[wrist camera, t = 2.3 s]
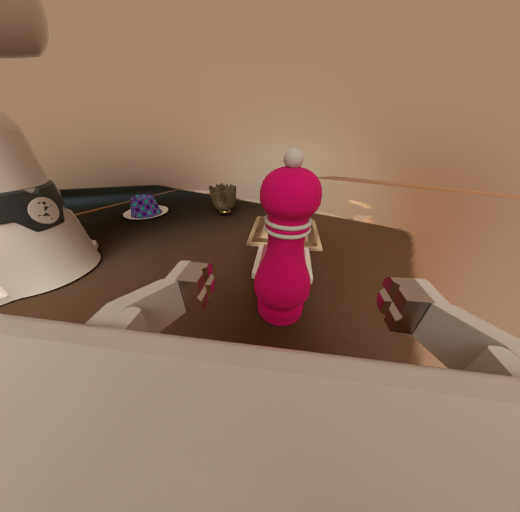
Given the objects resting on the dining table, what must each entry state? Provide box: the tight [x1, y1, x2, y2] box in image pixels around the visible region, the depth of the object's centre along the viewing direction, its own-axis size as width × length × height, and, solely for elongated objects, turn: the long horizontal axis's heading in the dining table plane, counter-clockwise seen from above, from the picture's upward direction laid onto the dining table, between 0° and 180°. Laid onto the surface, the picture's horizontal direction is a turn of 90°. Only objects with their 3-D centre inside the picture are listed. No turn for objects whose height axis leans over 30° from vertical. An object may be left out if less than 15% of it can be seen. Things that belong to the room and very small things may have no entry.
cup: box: [209, 184, 236, 215], centre depth 57 cm, size 8×7×8 cm
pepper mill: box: [254, 147, 322, 326], centre depth 23 cm, size 7×7×20 cm
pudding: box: [123, 194, 168, 220], centre depth 58 cm, size 12×12×5 cm
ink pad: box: [252, 244, 313, 284], centre depth 37 cm, size 10×10×2 cm
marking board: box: [247, 216, 322, 251], centre depth 49 cm, size 16×16×1 cm
